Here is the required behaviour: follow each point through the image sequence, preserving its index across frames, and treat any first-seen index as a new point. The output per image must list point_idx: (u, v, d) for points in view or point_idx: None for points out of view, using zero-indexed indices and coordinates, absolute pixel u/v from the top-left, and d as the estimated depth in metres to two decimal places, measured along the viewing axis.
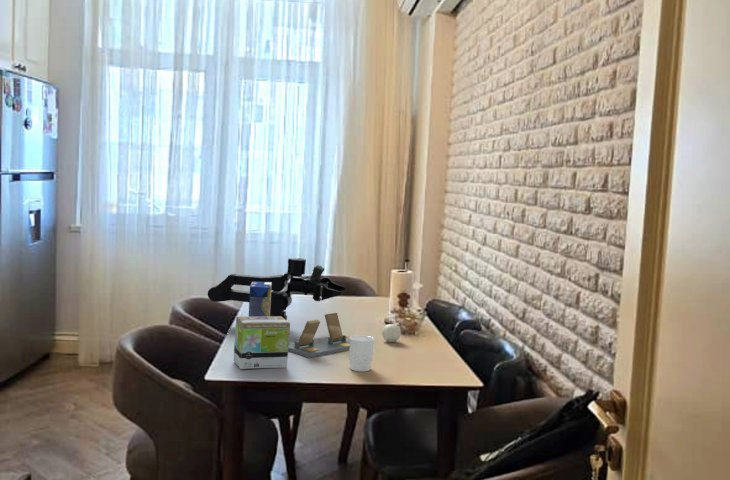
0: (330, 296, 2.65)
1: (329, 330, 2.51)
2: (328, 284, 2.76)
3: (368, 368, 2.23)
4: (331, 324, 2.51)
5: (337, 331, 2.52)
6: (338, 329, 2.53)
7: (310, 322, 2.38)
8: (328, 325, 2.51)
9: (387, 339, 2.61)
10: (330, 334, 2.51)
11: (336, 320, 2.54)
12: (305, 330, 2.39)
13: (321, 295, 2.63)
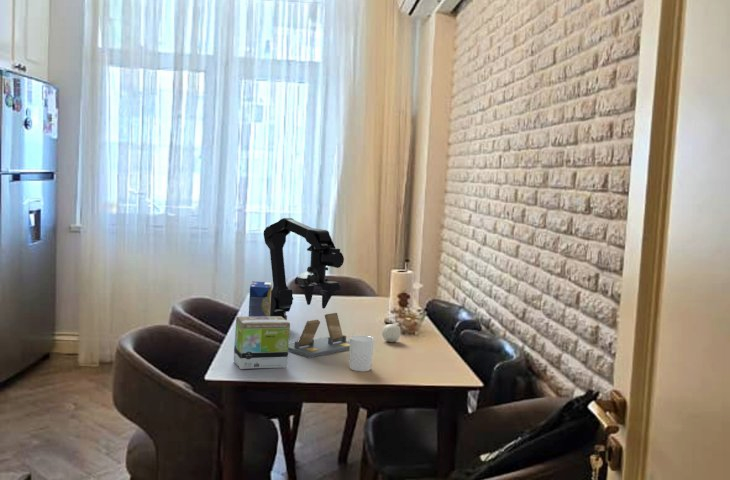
0: None
1: (329, 330, 2.51)
2: None
3: (368, 368, 2.23)
4: (331, 324, 2.51)
5: (337, 331, 2.52)
6: (338, 329, 2.53)
7: (310, 322, 2.38)
8: (328, 325, 2.51)
9: (387, 339, 2.61)
10: (330, 334, 2.51)
11: (336, 320, 2.54)
12: (305, 330, 2.39)
13: None
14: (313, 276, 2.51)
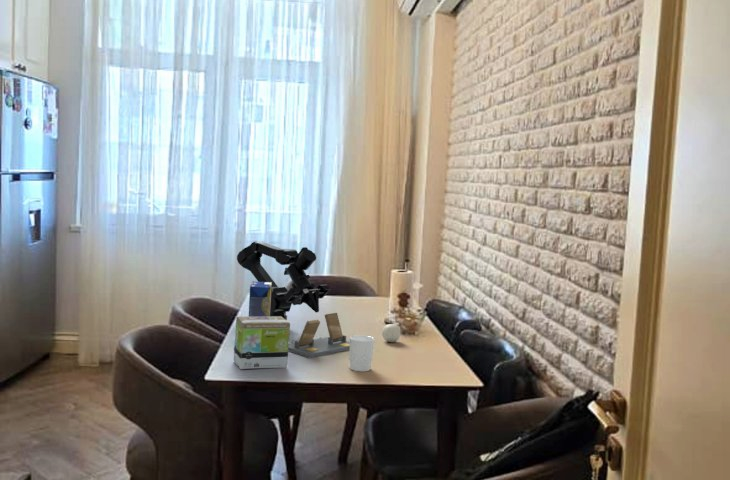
0: None
1: (329, 330, 2.51)
2: None
3: (368, 368, 2.23)
4: (331, 324, 2.51)
5: (337, 331, 2.52)
6: (338, 329, 2.53)
7: (310, 322, 2.38)
8: (328, 325, 2.51)
9: (387, 339, 2.61)
10: (330, 334, 2.51)
11: (336, 320, 2.54)
12: (305, 330, 2.39)
13: None
14: None
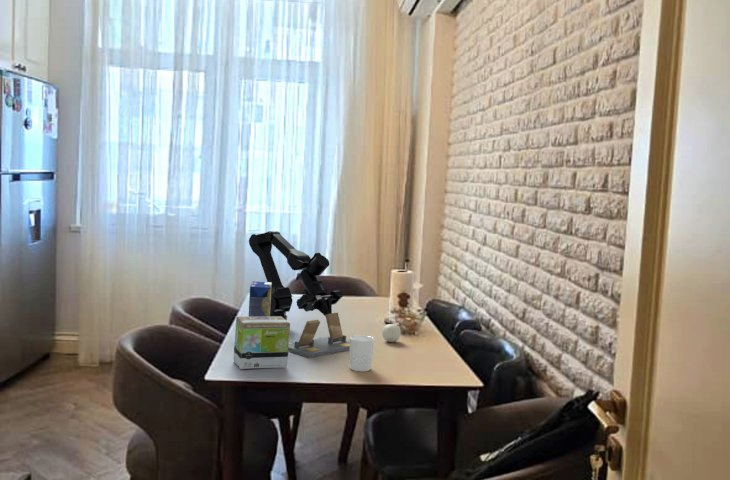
0: None
1: (329, 330, 2.51)
2: None
3: (368, 368, 2.23)
4: (332, 324, 2.51)
5: (337, 331, 2.52)
6: (338, 329, 2.53)
7: (310, 322, 2.38)
8: (328, 325, 2.51)
9: (387, 339, 2.61)
10: (330, 334, 2.50)
11: (337, 320, 2.54)
12: (305, 330, 2.39)
13: None
14: None
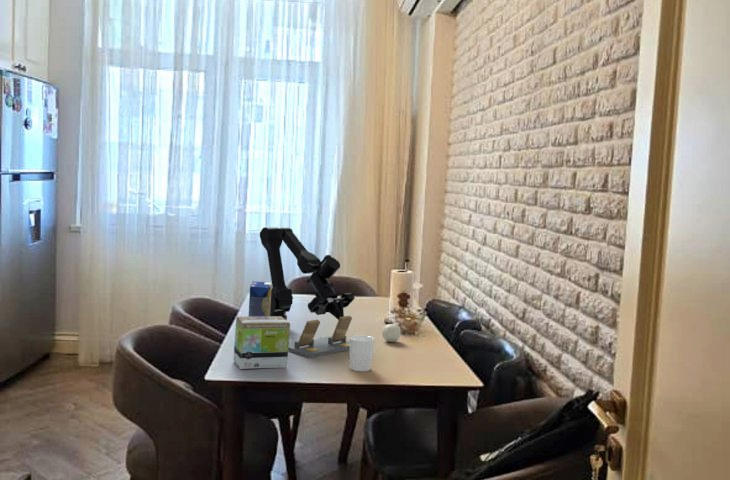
0: None
1: (335, 331, 2.49)
2: None
3: (368, 368, 2.23)
4: (340, 328, 2.48)
5: (342, 334, 2.51)
6: (344, 332, 2.51)
7: (310, 322, 2.38)
8: (337, 327, 2.48)
9: (387, 339, 2.61)
10: (334, 335, 2.49)
11: (347, 324, 2.50)
12: (305, 330, 2.39)
13: None
14: None
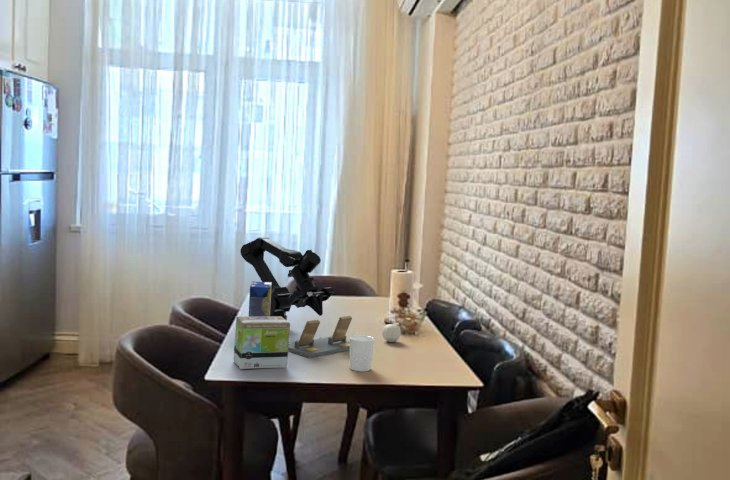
0: None
1: (335, 331, 2.49)
2: None
3: (368, 368, 2.23)
4: (340, 328, 2.48)
5: (342, 334, 2.51)
6: (344, 332, 2.51)
7: (310, 322, 2.38)
8: (337, 327, 2.48)
9: (387, 339, 2.61)
10: (334, 335, 2.49)
11: (347, 324, 2.50)
12: (305, 330, 2.39)
13: None
14: None
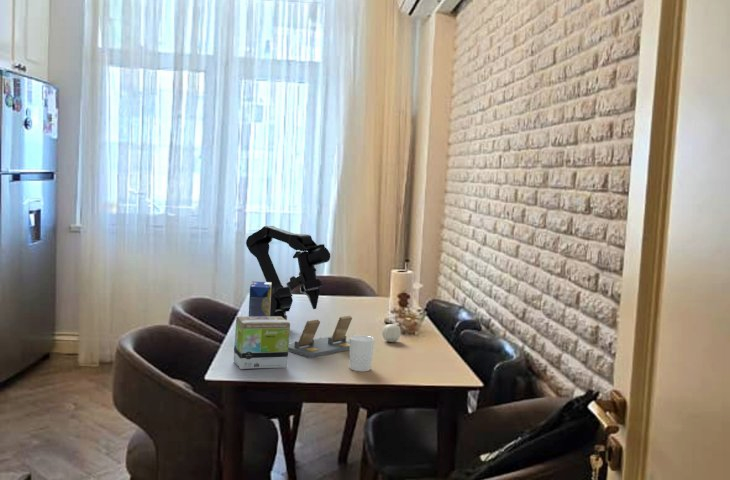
0: None
1: (335, 331, 2.49)
2: None
3: (368, 368, 2.23)
4: (340, 328, 2.48)
5: (342, 334, 2.51)
6: (344, 332, 2.51)
7: (310, 322, 2.38)
8: (337, 327, 2.48)
9: (387, 339, 2.61)
10: (334, 335, 2.49)
11: (347, 324, 2.50)
12: (305, 330, 2.39)
13: None
14: (293, 278, 2.57)
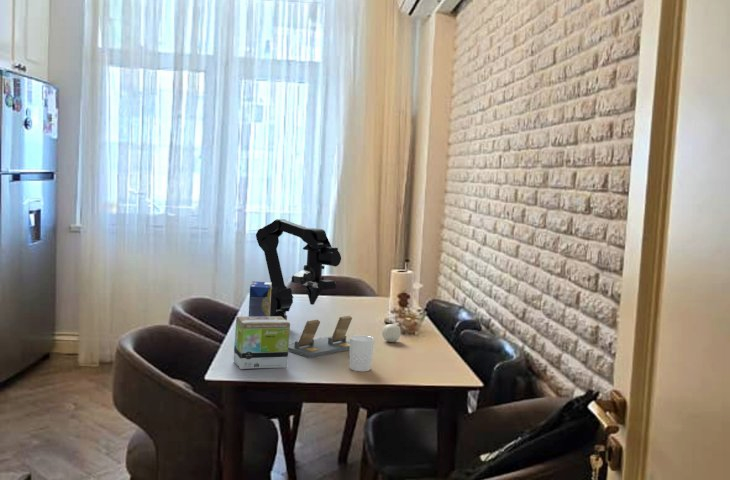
0: None
1: (335, 331, 2.49)
2: None
3: (368, 368, 2.23)
4: (340, 328, 2.48)
5: (342, 334, 2.51)
6: (344, 332, 2.51)
7: (310, 322, 2.38)
8: (337, 327, 2.48)
9: (387, 339, 2.61)
10: (334, 335, 2.49)
11: (347, 324, 2.50)
12: (305, 330, 2.39)
13: None
14: (309, 275, 2.55)
